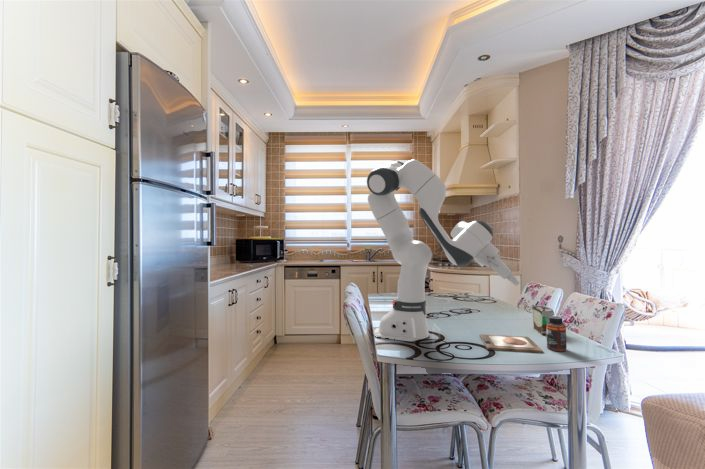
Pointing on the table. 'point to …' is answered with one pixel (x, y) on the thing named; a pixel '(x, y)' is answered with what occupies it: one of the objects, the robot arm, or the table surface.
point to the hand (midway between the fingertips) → (516, 282)
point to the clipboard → (510, 343)
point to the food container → (541, 318)
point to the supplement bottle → (556, 334)
